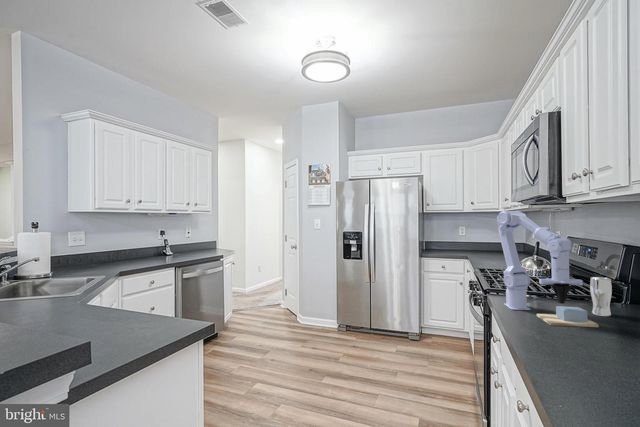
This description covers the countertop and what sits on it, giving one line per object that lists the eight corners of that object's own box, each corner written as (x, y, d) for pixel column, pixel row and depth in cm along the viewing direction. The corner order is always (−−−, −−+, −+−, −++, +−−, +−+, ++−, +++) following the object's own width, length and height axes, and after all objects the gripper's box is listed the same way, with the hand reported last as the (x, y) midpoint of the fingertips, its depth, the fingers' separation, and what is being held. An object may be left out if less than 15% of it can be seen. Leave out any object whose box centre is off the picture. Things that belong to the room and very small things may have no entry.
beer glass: (589, 311, 144) (588, 276, 144) (610, 313, 141) (609, 277, 141) (592, 315, 138) (591, 279, 138) (614, 317, 135) (613, 280, 135)
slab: (555, 306, 135) (578, 306, 133) (556, 316, 135) (578, 316, 133) (563, 310, 129) (587, 311, 127) (564, 320, 129) (587, 321, 127)
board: (536, 316, 139) (536, 313, 139) (580, 317, 136) (579, 315, 136) (550, 325, 127) (550, 322, 127) (598, 327, 124) (598, 324, 124)
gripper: (544, 269, 129) (545, 304, 129) (587, 270, 126) (588, 306, 126) (536, 267, 136) (537, 300, 136) (576, 267, 133) (577, 301, 133)
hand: (561, 302), depth 132 cm, fingers closed
